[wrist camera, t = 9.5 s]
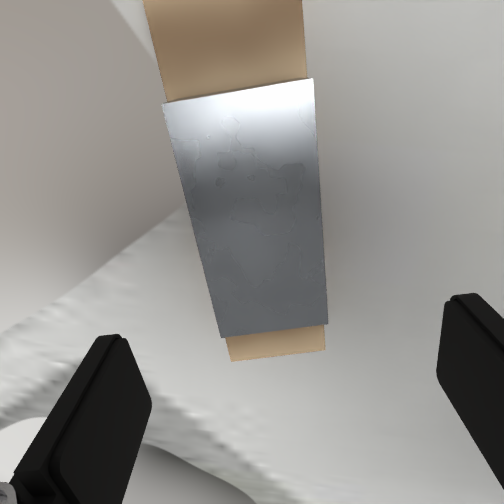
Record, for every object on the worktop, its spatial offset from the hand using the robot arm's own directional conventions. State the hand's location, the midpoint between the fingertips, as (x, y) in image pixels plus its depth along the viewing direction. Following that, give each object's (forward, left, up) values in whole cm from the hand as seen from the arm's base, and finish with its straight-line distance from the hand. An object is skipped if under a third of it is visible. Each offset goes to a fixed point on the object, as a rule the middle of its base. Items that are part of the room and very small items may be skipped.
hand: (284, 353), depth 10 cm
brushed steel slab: (0, 0, -15) cm, 15 cm away
